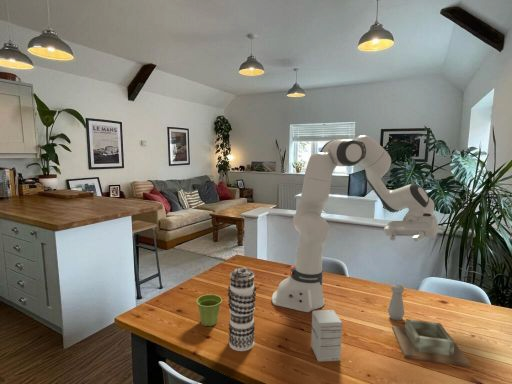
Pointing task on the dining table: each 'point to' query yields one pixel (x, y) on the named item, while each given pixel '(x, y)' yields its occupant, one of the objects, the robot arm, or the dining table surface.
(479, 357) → the dining table surface
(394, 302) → the salt shaker
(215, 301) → the plant pot
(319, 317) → the supplement box
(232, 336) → the decorative candle
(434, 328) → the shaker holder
